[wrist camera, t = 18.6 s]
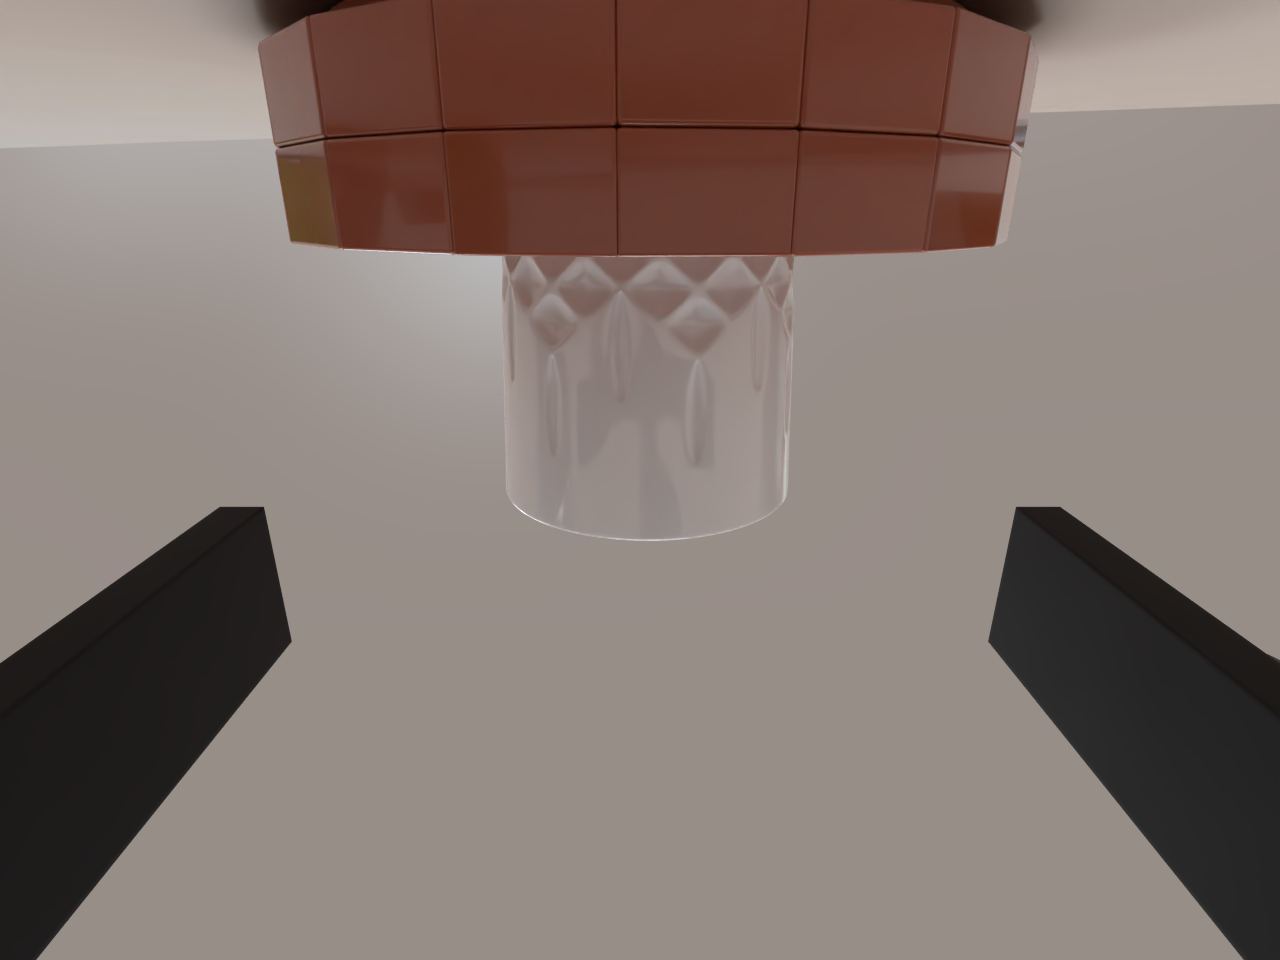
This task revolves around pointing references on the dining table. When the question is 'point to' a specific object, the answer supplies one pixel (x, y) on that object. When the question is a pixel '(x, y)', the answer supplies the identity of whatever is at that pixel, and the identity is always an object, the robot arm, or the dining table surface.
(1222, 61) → the dining table surface
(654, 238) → the bowl
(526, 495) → the white cup
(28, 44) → the dining table surface
